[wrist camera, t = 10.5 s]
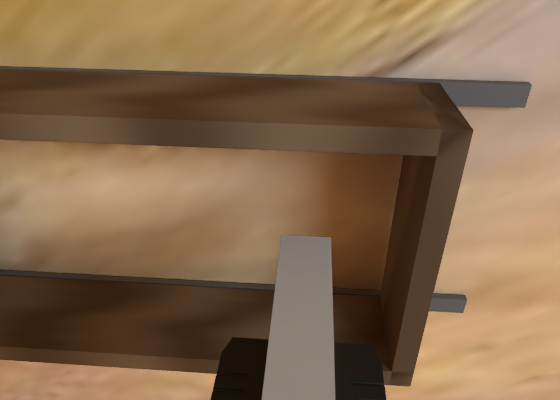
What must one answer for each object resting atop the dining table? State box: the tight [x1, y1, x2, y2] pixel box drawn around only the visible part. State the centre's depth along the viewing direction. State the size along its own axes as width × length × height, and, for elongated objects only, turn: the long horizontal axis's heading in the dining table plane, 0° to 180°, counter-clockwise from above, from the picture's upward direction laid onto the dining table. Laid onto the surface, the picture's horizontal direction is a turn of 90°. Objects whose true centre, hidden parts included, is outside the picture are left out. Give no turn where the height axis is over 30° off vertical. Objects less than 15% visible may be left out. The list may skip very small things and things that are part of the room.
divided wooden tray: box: [0, 70, 473, 386], centre depth 18 cm, size 29×11×4 cm, turn 89°
